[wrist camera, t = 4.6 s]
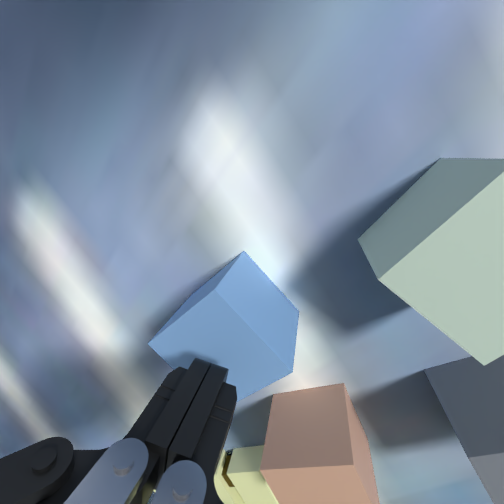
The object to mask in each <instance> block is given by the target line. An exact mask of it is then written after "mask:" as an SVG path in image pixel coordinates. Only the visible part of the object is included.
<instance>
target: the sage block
mask: <svg viewBox="0 0 504 504" xmlns="http://www.w3.org/2000/svg"><path fill="white" fill-rule="evenodd" d="M358 241H359V243H360V245H361V247H362V249H363V251H364V253H365V255H366V257H367V259H368V261H369V263H370V265H371V267H372V269H373V271H374V273H375V275H376V277H377V279H378V280H379V281H380V282H381V283H383V284H384V285H385V286H386V287H388V288H389V289H390V290H391V291H392V292H394V293H395V294H396V295H397V296H399V297H400V298H401V299H402V300H404V301H405V302H406V303H407V304H409V305H410V306H411V307H412V308H413V309H415V310H416V311H417V312H418V313H420V314H421V315H422V316H423V317H425V318H426V319H427V320H428V321H430V322H431V323H432V324H433V325H434V326H436V327H437V328H438V329H439V330H441V331H442V332H443V333H444V334H446V335H447V336H448V337H449V338H451V339H452V340H453V341H454V342H455V343H457V344H458V345H459V346H460V347H462V348H463V349H464V350H465V351H467V352H468V353H469V354H470V355H472V356H473V357H474V358H475V359H476V360H478V361H479V362H480V363H481V364H483V365H484V366H485V365H487V364H488V363H490V362H492V361H494V360H495V359H497V358H499V357H501V356H502V355H504V159H476V158H440V159H439V160H438V161H437V162H436V163H435V164H434V165H433V166H432V167H431V168H430V169H429V170H428V171H427V172H426V173H425V174H424V175H423V176H422V177H421V178H420V179H418V180H417V181H416V182H415V183H414V184H413V185H412V186H411V187H410V188H409V189H408V190H407V191H406V192H405V193H404V194H403V195H402V196H401V197H400V198H399V199H398V200H397V201H396V202H395V203H394V204H393V205H392V206H391V207H390V208H389V209H388V210H387V211H386V212H385V213H384V214H383V215H382V216H381V217H380V218H379V219H378V220H377V221H376V222H374V223H373V224H372V225H371V226H370V227H369V228H368V229H367V230H366V231H365V232H364V233H363V234H362V235H361V236H360V237H359V238H358Z"/></svg>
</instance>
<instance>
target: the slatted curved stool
mask: <svg viewBox="0 0 504 504" xmlns="http://www.w3.org/2000/svg"><path fill="white" fill-rule="evenodd" d="M263 449H264V445H260V446H251V447H242V448H234V449H233V452H232V455H227V453H226V452H225V450H222V453H221V457H220V460H219V463H218V466H217V469H216V472H215V475H214V484H215V488H216V492H217V494H218V496H219V498H220V499H221V501H222V502H223V503H224V504H279V503H278V501H277V499H276V497H275V496H274V494H273V492H272V490H271V489H270V487H269V485H268V484H267V482H266V480H265V478H264V477H263V475H262V473H261V471H260V466H261V460H262V455H263ZM153 491H154V492H156V490H153Z"/></svg>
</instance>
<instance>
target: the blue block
mask: <svg viewBox="0 0 504 504" xmlns="http://www.w3.org/2000/svg"><path fill="white" fill-rule="evenodd" d="M298 317H299V311H298V310H297V308H296V307H295V306H294V305H293V304H292V303H291V302H290V301H289V300H288V299H287V297H286V296H285V295H284V294H283V293H282V292H281V291H280V290H279V289H278V288H277V286H276V285H275V284H274V283H273V282H272V281H271V280H270V279H269V278H268V277H267V275H266V274H265V273H264V272H263V271H262V270H261V269H260V268H259V267H258V265H257V264H256V263H255V262H254V261H253V260H252V259H251V258H250V257H249V256H248V254H247V253H246V252H245V251H243V252H242V253H241V254H239V255H238V256H237V257H236V258H235V259H234V260H232V261H231V262H230V263H229V264H228V265H226V266H225V267H224V268H223V269H222V270H220V271H219V272H218V273H217V274H216V275H215V276H213V277H212V278H211V279H210V280H209V281H207V282H206V283H205V284H204V285H203V286H201V287H200V288H199V289H198V290H197V291H196V292H194V293H193V294H192V295H191V296H190V297H189V298H188V299H187V300H186V301H185V303H184V304H183V305H182V306H181V307H180V308H179V309H178V310H177V311H176V313H175V314H174V315H173V316H172V317H171V318H170V319H169V320H168V321H167V323H166V324H165V325H164V326H163V327H162V328H161V329H160V330H159V331H158V333H157V334H156V335H155V336H154V337H153V338H152V339H151V340H150V341H149V343H148V345H149V346H150V347H151V348H152V349H153V350H154V351H155V352H156V353H157V354H158V355H159V356H160V357H161V358H162V359H163V360H164V361H165V362H166V363H167V364H168V365H169V366H170V367H171V368H172V369H173V370H175V369H176V368H178V367H179V366H180V367H182V368H185V369H188V368H189V367H190V365H191V363H192V362H193V360H194V359H195V358H198V359H201V360H204V361H207V362H210V363H212V364H216V365H219V366H222V367H225V368H227V369H229V371H228V376H227V380H226V383H228V384H231V385H234V386H236V391H237V402H238V401H239V400H241V399H243V398H245V397H247V396H249V395H251V394H253V393H255V392H256V391H258V390H260V389H262V388H264V387H266V386H268V385H270V384H271V383H273V382H275V381H277V380H279V379H281V378H283V377H285V376H287V375H288V374H290V373H292V372H293V363H294V354H295V345H296V335H297V326H298Z"/></svg>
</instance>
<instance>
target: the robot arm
mask: <svg viewBox="0 0 504 504" xmlns="http://www.w3.org/2000/svg"><path fill="white" fill-rule="evenodd" d="M228 371H229V369H227V368H225V367H222V366H219V365H216V364H212V363H210V362H207V361H204V360H201V359H198V358H195V359H194V360H193V362H192V363H191V365H190V367H189V368H188V369H185V368H182V367H180V366H179V367H178V368H176V369H175V370H173V371H172V372H171V373H169V374H168V375H167V377H166V378H165V380H164V381H163V383H162V384H161V386H160V387H159V389H158V390H157V392H156V393H155V395H154V397H152V399H151V400H150V402H149V403H148V405H147V406H146V408H145V409H144V411H143V412H142V414H141V415H140V417H139V418H138V419H137V421H136V422H135V424H134V425H133V427H132V428H131V430H130V431H129V433H128V434H127V435H126V436H125V437H124V438H123V439H122V440H120V441H118V442H116V443H114V444H113V445H111V446H110V447H108V448H105V449H101V450H73V446H72V444H71V442H70V441H69V440H68V439H66V438H63V437H52V438H48V439H45V440H42V441H40V442H38V443H35V444H33V445H31V446H29V447H26V448H24V449H22V450H19V451H17V452H15V453H12V454H10V455H8V456H6V457H3V458H1V459H0V504H147V502H148V500H149V498H150V496H151V494H152V492H153V490H156V492H155V494H154V497H153V499H152V502H151V504H224V503H223V502H222V501H221V499H220V498H219V496H218V494H217V492H216V488H215V484H214V475H215V472H216V469H217V466H218V463H219V460H220V457H221V453H222V450H223V447H224V444H225V441H226V438H227V435H228V431H229V428H230V425H231V422H232V418H233V414H234V410H235V406H236V402H237V391H236V386H234V385H231V384H228V383H226V380H227V376H228Z"/></svg>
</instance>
